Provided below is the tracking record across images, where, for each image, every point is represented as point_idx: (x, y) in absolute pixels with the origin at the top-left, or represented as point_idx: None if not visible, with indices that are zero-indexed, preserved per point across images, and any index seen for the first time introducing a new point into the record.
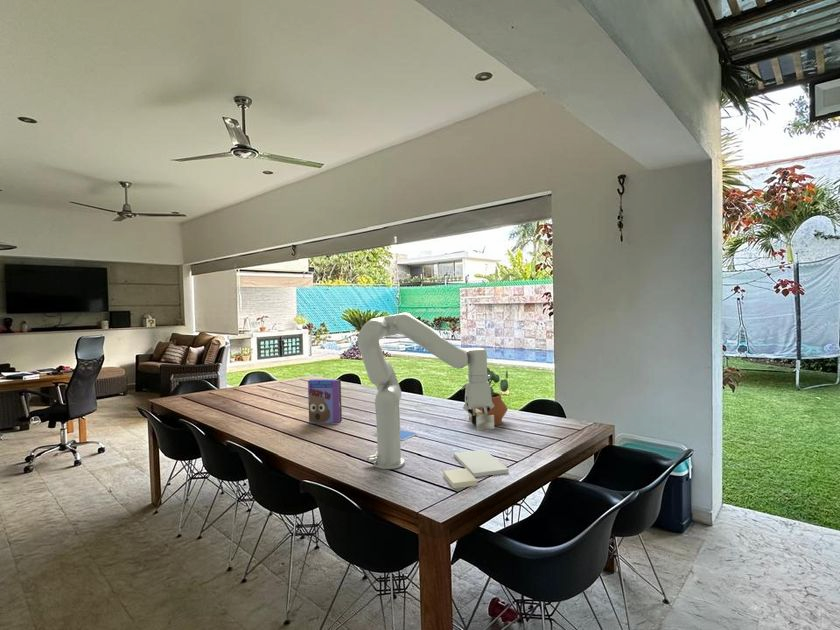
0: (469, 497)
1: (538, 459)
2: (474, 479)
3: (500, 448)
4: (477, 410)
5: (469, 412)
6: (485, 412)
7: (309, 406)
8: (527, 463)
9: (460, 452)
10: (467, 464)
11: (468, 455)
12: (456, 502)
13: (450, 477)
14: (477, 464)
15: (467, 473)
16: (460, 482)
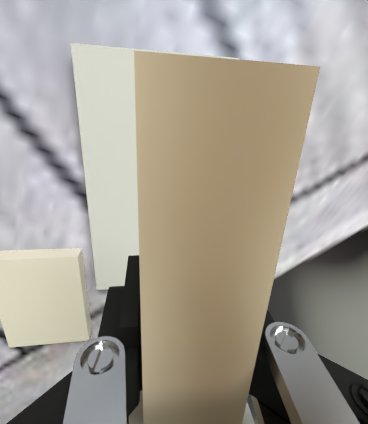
0: (51, 378)
1: (356, 203)
2: (82, 335)
3: (329, 27)
4: (228, 310)
5: (45, 402)
6: (271, 405)
7: None
8: (304, 224)
9: (108, 54)
10: (97, 215)
11: (134, 116)
12: (13, 393)
13: (5, 313)
14: (135, 226)
15: (71, 296)
16: (34, 344)
